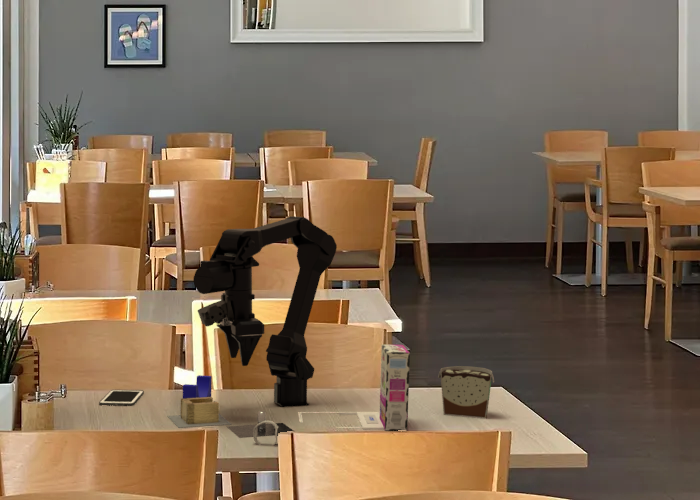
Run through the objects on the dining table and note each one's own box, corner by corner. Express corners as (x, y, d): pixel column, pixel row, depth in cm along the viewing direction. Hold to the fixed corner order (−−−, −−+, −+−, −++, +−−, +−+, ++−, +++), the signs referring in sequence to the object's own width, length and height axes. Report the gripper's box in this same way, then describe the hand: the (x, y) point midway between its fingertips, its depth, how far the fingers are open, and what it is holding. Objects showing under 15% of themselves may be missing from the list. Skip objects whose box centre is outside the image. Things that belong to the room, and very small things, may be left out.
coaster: (218, 415, 268) (218, 412, 268) (231, 426, 257) (231, 423, 257) (167, 418, 264) (167, 415, 264) (178, 430, 254) (178, 427, 254)
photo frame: (388, 426, 257) (300, 426, 256) (388, 431, 257) (300, 432, 256) (381, 410, 272) (297, 411, 270) (380, 416, 272) (297, 416, 270)
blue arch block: (192, 401, 283) (192, 375, 282) (211, 402, 282) (211, 376, 281) (175, 412, 271) (176, 385, 270) (195, 413, 270) (196, 386, 270)
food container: (498, 413, 274) (500, 368, 273) (492, 419, 269) (494, 373, 268) (444, 408, 278) (445, 364, 277) (437, 414, 273) (438, 368, 272)
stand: (282, 425, 260) (282, 405, 259) (297, 436, 250) (297, 415, 250) (226, 428, 256) (226, 408, 255) (239, 440, 246) (239, 419, 246)
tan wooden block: (180, 417, 263) (180, 398, 262) (211, 415, 265) (211, 396, 265) (187, 424, 257) (187, 404, 256) (218, 422, 259) (218, 403, 258)
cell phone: (98, 407, 276) (98, 402, 276) (111, 393, 290) (111, 389, 290) (133, 407, 276) (133, 403, 276) (144, 394, 290) (144, 390, 290)
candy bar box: (409, 432, 256) (410, 352, 254) (384, 432, 255) (386, 352, 254) (402, 419, 267) (403, 343, 265) (378, 419, 266) (380, 343, 265)
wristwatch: (277, 449, 240) (277, 423, 240) (252, 447, 241) (252, 422, 240) (280, 445, 243) (281, 420, 242) (255, 444, 244) (255, 418, 243)
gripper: (190, 285, 271) (191, 356, 273) (211, 296, 253) (212, 372, 255) (240, 282, 275) (241, 353, 276) (264, 294, 257) (265, 369, 259)
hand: (239, 361), depth 267 cm, fingers open, 9 cm apart
